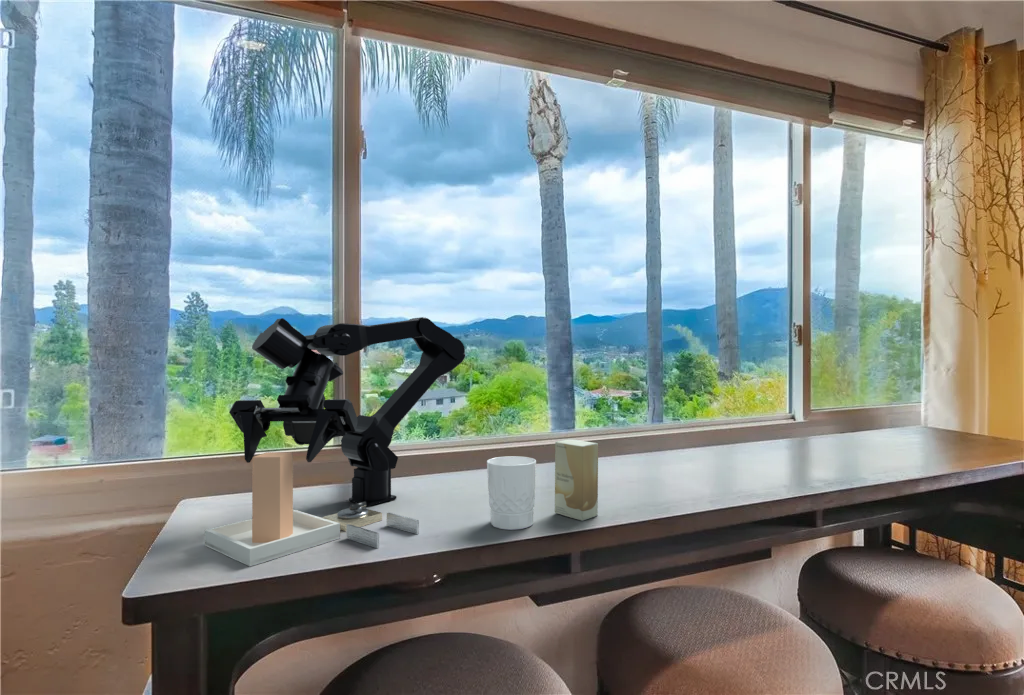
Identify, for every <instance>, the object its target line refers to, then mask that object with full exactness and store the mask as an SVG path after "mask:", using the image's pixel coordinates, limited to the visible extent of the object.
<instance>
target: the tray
mask: <svg viewBox="0 0 1024 695" xmlns="http://www.w3.org/2000/svg"><path fill="white" fill-rule="evenodd" d="M339 539H341V530H340V523H338V522H334V521H331V520H327V519H324V518H323V517H320V516H318V515H317V516H316V515H314V514H310V513H307V512H303V511H300V510H297V509H294V508H293V534H291V535H290V536H289V537H285V538H282V539H278V540H275V541H271V542H268V543H252V518H249V519H245V520H239V521H235V522H233V523H228V524H225V525H220V526H216V527H212V528H211V527H210V528H206V529H205V530H204V547H207V548H209V549H212V550H214V551H216V552H217V553H220V554H221V555H225V556H227V558H228V557H229V558H231V559H233V560H235V561H237V562H240V563H242V564H244V565H246V566H248V567H254V566H256V565H260V564H263V563H265V562H269V561H272V560H275V559H278V558H281V557H285V556H287V555H288V556H289V555H291V554H294V553H298V552H301V551H304V550H307V549H311V548H313V547H316V546H320V545H323V544H326V543H330V542H333V541H335V540H336V541H337V540H339Z"/></svg>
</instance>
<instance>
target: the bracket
mask: <svg viewBox="0 0 1024 695" xmlns="http://www.w3.org/2000/svg"><path fill="white" fill-rule="evenodd" d="M366 507H367V504H366V502H365V501H363V502H360V503H353V504H350V505H349V507H348V508H343V509H341V510H339V511H338V512H336V513H333V514H328V515H325V516H322V518H324V519H327V520H331V521H334V522H338V523H340V531H343V532H346V539H347V540H350V541H352V542H357V543H359V544H363V545H365V546H369V547H372V548H375V549H379V548H380V533H379V532H378V531H373V530H369V529H366V528H364V526H368V525H371V524H374V523H378V522H380V521H383V512H380V511H376V510H373V509H369V508H366ZM386 527H390V528H394V529H396V530H397V529H398V530H401V531H405V532H407V533H412V534H415V535H418V534H420V520H419V519H415V518H412V517H407V516H404V515H400V514H397V513H393V512H386Z"/></svg>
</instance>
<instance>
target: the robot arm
mask: <svg viewBox="0 0 1024 695" xmlns="http://www.w3.org/2000/svg"><path fill="white" fill-rule="evenodd" d="M407 339H412V340H413V341H414V342H415V345H416V346H417V348H418V349H419V350H420V352H422V353H421V355H420V360H419V364H418V366H416V368H415V369H414V370H413V371H412V372H411V374H409V375H408V377H407V378H406V379H405V380H404V381H403V382H402V383H401V384H400V385H399V386H398V387H397V389H396V390H395V391H394V392H393V393H392V394H391V396H389V398H388V399H387V400H386V401H384V403H383V404H382V405H381V407H380V408H379V409H377V411H376V412H375V413H373V414H372V415H362V414H359V415H357V413H356V411H355V408H354V406H353V403H352V401H351V399H349V398H343V399H341V398H339V399H338V398H337V399H336V398H335V399H334V398H333V399H331V398H330V399H329V398H327V399H326V396H325V394H324V393H325V391H326V388H327V385H328V383H329V382H333V381H334V380H336V379H337V378H339V377H342V375H344V371H343V369H342V368H341V367H340V366H339V365H338V364H339V363H337V362H334V361H333V360H332V359H330V357H337V356H338V357H340V356H341V357H342V356H349V355H351V354H354V353H356V352H359V351H362V350H363V349H365V348H367V347H369V346H372V345H376V344H383V343H387V342H394V341H399V340H407ZM251 349H252V350H253V351H255V352H256V353H258V354H259V355H260V356H261V357H263V358H264V359H266V360H268V362H270V363H272V364H273V365H275V366H276V367H278V368H279V369H280V370H285V369H286V368H288V367H289V368H290V369H293V368H295V370H294V371H293V374H292V376H291V375H288V376H286V378H285V383H286V384H287V387H286V389H285V392H284V394H279V395H278V397H277V399H276V401H277V404H278V407H266V406H265V405H264V403H263V402H262V400H261V399H243V400H242V399H240V400H239V399H237V400H235V401H234V403H233V404H232V406H231V407H230V409H229V411H228V412H229V415H230V416H231V418H232V420H234V423H235V424H236V426H237V427H238V428H239V430H240V432H241V433H242V435H243V451H244V452H243V454H244V460H245V462H246V463H247V464H248V463H251V461H252V457H255V454H256V452H257V450H258V447H259V445H260V442H261V439H262V438H266V437H267V436H268V435H267V433H266V432H267V431H269V428H270V426H271V422H272V423H273V422H282V427H283V431H284V435H285V436H286V437H291V438H292V439H293V441H294V443H295V444H297V445H298V446H299V445H300V446H305V445H307V451H306V455H305V456H306V457H305V460H306V461H307V463H312V462H313V460H314V459H315V458H316V456H318V455H319V453H320V452H321V451H322V450H323V449H324V447H325V446H326V445H327V444H328V443H329V442H330V441H332V439H333V438H338V437H341V440H340V443H341V444H340V446H341V452H342V453H343V455H344V456H345V457H346V458H347V459H348V463H349V466H350V467H356V468H353V477H352V478H351V497H349V498H348V502H352V503H354V504H356V503H360V502H363V501H365V502H366V504H367V505H366V507H367V506H368V507H369V506H375V505H378V504H382V503H386V502H389V501H393V500H396V499H397V495H394V494H392V470H393V469H396V466H397V464H398V460H399V457H398V456H397V455H396V453H394V452H393V450H391V449H390V448H389V446H390V444H391V443H392V440H393V436H394V433H395V432H394V431H395V429H396V428H397V427H398V425H399V424H400V423H401V422H402V420H403V419H404V418H405V417H406V415H408V414H409V412H410V411H411V410H412V409H413V407H414V406H415V405H416V404H417V403H418V402H419V400H421V399H422V397H423V396H424V395H425V394H426V392H427V391H429V389H430V388H431V387H432V385H433V384H434V383H435V382H436V381H437V380H438V379H439V378H440V377H442V376H444V375H446V374H448V373H450V372H452V371H453V370H454V369H456V368H457V367H458V366H459V365H460V364H462V363H463V361H464V360H465V358H466V349H465V345H464V343H463V342H462V341H461V339H459V338H456V337H455V336H454V335H452V334H451V333H450V332H448V331H447V330H445V329H443V328H442V327H439V325H436V324H435V323H434V322H433V321H432V320H431V319H429V318H428V317H424V316H420V317H414V318H410V319H407V320H399V321H393V322H392V321H391V322H385V323H377V324H372V325H367V324H358V323H345V322H343V323H342V322H341V323H340V322H339V323H334V324H327V325H326V324H325V325H321V326H319V327H318V328H317V329H316V331H315V333H314V334H309V335H304V334H302V332H300V331H299V330H297V329H295V327H293V326H292V325H291V323H290V322H289V321H287V320H286V319H285V318H284V317H281V318H277V319H276V320H274V322H273V323H272V324H271V325H270V326H268V327H267V328H266V329H265V330H264V331H263V332H260V333H259V335H258V336H257V337H256V338H255V340H254V342H253V343H252V348H251ZM315 351H317V352H315Z"/></svg>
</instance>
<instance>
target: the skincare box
mask: <svg viewBox="0 0 1024 695" xmlns="http://www.w3.org/2000/svg"><path fill="white" fill-rule="evenodd" d="M554 444H555V449H554V450H555V451H554V513H555V514H557V515H562V516H565V517H568V518H571V519H574V520H578V521H582V522H583V521H585V520H586V521H587V520H589V519H592V518H594V517H597V516H598V514H599V511H598V509H599V505H598V504H599V500H598V499H599V498H598V497H599V494H598V493H599V443H598V442H592V441H586V440H579V439H578V440H577V439H571V438H569V439H564V440H559V441H555V442H554Z"/></svg>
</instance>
